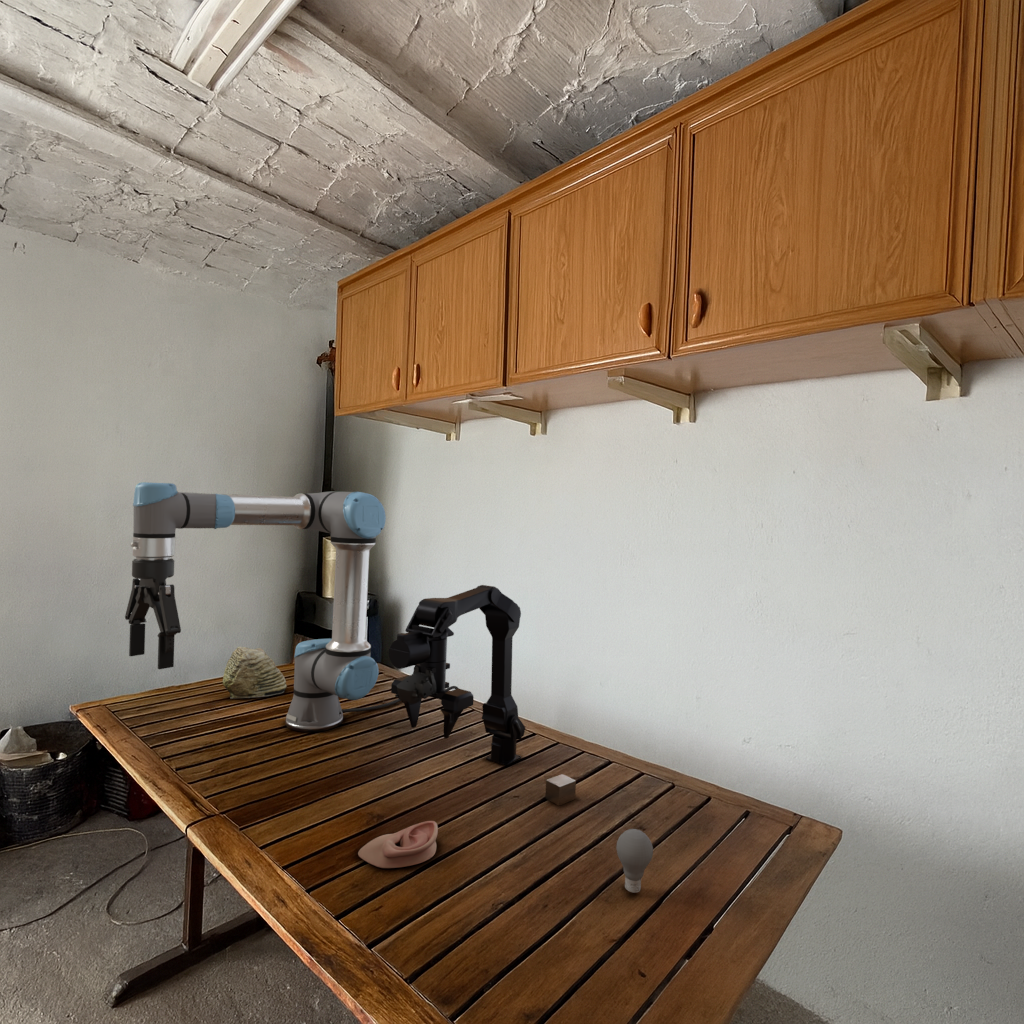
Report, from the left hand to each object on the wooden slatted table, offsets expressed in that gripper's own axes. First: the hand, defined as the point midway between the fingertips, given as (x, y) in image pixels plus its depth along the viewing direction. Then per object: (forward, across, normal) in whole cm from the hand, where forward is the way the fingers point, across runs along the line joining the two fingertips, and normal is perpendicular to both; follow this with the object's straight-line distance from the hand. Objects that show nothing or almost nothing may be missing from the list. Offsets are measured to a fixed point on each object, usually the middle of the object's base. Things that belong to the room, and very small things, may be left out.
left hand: (150, 661), depth 130 cm
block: (+28, +63, +59) cm, 91 cm away
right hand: (+14, +43, +38) cm, 59 cm away
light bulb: (+28, +90, +40) cm, 103 cm away
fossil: (+28, -46, +50) cm, 74 cm away
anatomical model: (+28, +53, +21) cm, 64 cm away
